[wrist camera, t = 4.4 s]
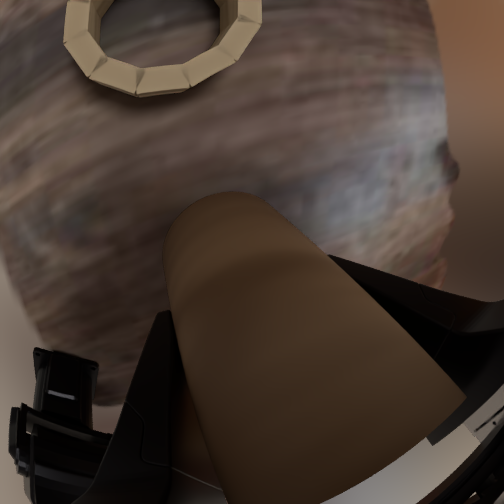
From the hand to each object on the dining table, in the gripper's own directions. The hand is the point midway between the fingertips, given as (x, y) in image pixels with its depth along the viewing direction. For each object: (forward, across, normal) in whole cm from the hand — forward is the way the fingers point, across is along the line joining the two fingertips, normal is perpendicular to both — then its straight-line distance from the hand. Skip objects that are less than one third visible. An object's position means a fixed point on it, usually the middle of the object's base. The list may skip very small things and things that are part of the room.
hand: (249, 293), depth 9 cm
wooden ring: (+10, 0, -11) cm, 15 cm away
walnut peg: (+3, 0, 0) cm, 3 cm away
